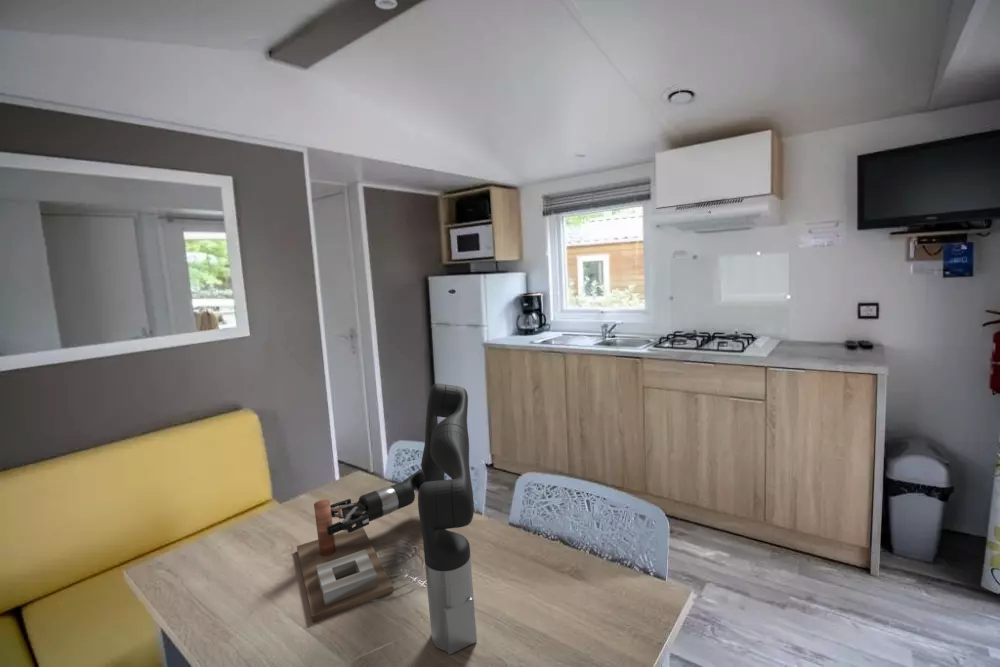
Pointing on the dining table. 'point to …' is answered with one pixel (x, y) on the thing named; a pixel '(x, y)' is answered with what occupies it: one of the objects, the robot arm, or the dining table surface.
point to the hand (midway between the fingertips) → (322, 524)
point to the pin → (324, 527)
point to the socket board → (341, 551)
